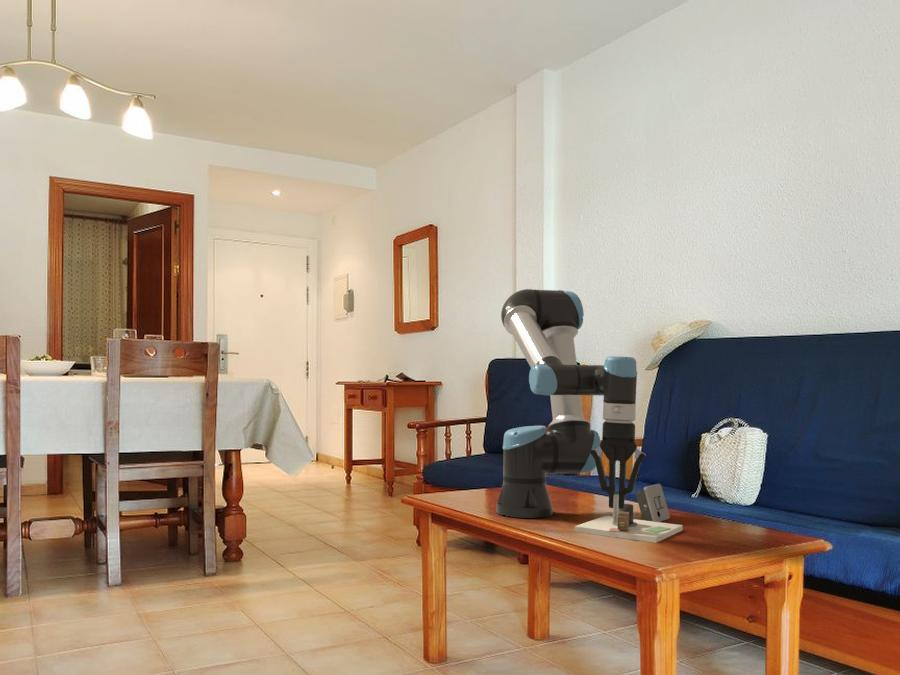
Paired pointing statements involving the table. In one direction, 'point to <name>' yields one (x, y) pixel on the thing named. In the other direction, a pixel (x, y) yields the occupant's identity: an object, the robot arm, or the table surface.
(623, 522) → the peg
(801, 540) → the table surface
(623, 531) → the tuner plate
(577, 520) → the table surface
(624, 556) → the table surface
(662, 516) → the electrical switch
